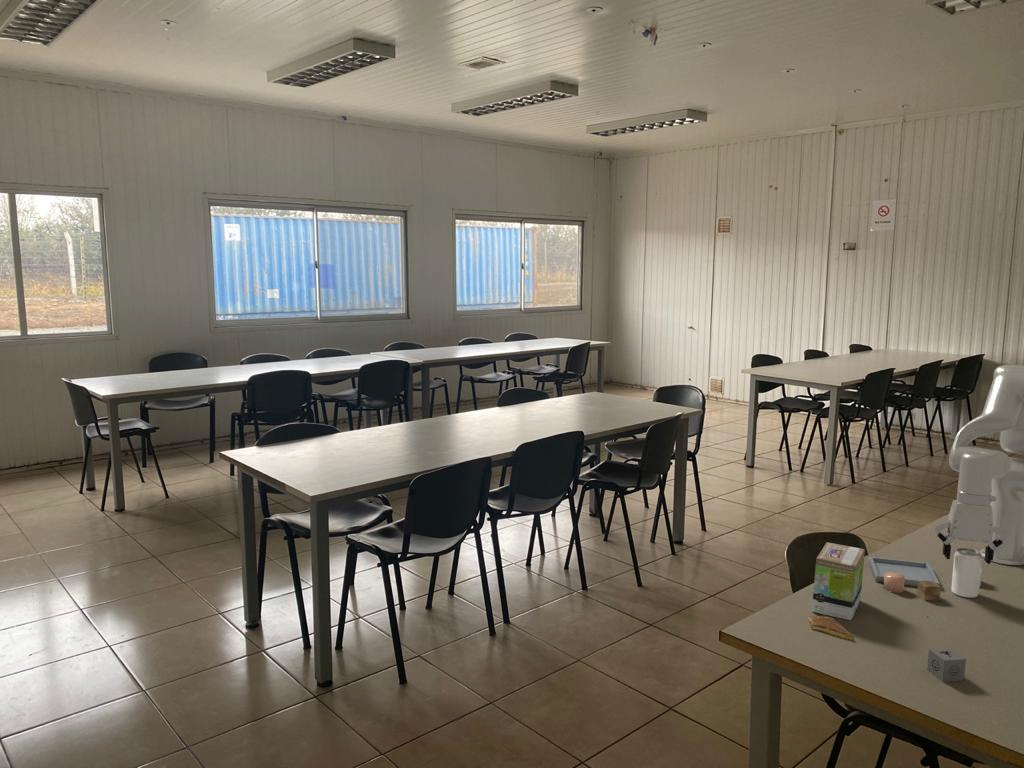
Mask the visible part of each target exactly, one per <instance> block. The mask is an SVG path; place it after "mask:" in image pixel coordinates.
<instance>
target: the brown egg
mask: <svg viewBox="0 0 1024 768" xmlns="http://www.w3.org/2000/svg"><path fill="white" fill-rule="evenodd" d="M904 581H905V577H904V576H903V575H902V574H899V573H894V572H887V573H885V575H884V583H883V589H884V590H885V589H886V590H887V591H886V590H885V591H886V592H889V591H891V592H890V593H892V592H895V593H894V594H902V593H901V592H903V591H904V592H905V585H904ZM904 592H903V593H904Z"/></svg>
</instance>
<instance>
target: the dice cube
mask: <svg viewBox="0 0 1024 768" xmlns="http://www.w3.org/2000/svg"><path fill="white" fill-rule="evenodd" d="M927 657H928V658H927V668H926V670H927V671H928V672H929V673H930V672H931V673H932V674H931V673H930V674H931V675H933V676H934V677H935V676H936V677H935V678H936V679H938V680H939V679H940V680H939V681H941V683H946V682H947V683H948V681H951V682H962V681H961V680H964V681H965V674H966V672H965V671H966V662H967V658H965V657H964V656H963V655H961V654H959V653H958V652H956V651H955V650H954V649H953V648H951V647H943V648H929V649H928V655H927Z"/></svg>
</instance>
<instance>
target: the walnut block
mask: <svg viewBox="0 0 1024 768" xmlns="http://www.w3.org/2000/svg"><path fill="white" fill-rule="evenodd" d="M916 590H917V591H916V592H917V593H916V595H917V594H918V595H919V596H918V595H917V596H918V597H919V598H920V599H921V600H922V601H924V600H933V601H932V602H935V601H936V602H940V598H941V586H939V585H938V584H936V583H935V582H934V581H918V587H917V589H916Z"/></svg>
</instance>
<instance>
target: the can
mask: <svg viewBox="0 0 1024 768" xmlns="http://www.w3.org/2000/svg"><path fill="white" fill-rule="evenodd" d="M982 562H983V560H982V556H981V555H980V551H978V550H976V549H972V548H964V547H960V548H957V549H956V551H955V553H954V556H953V565H952V576H951V589H950V590H951V592H952V594H954V595H955V596H957V597H961V598H965V599H975V598H977V597H978V596H979V593H980V586H979V585H980V575H981V571H982Z"/></svg>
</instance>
